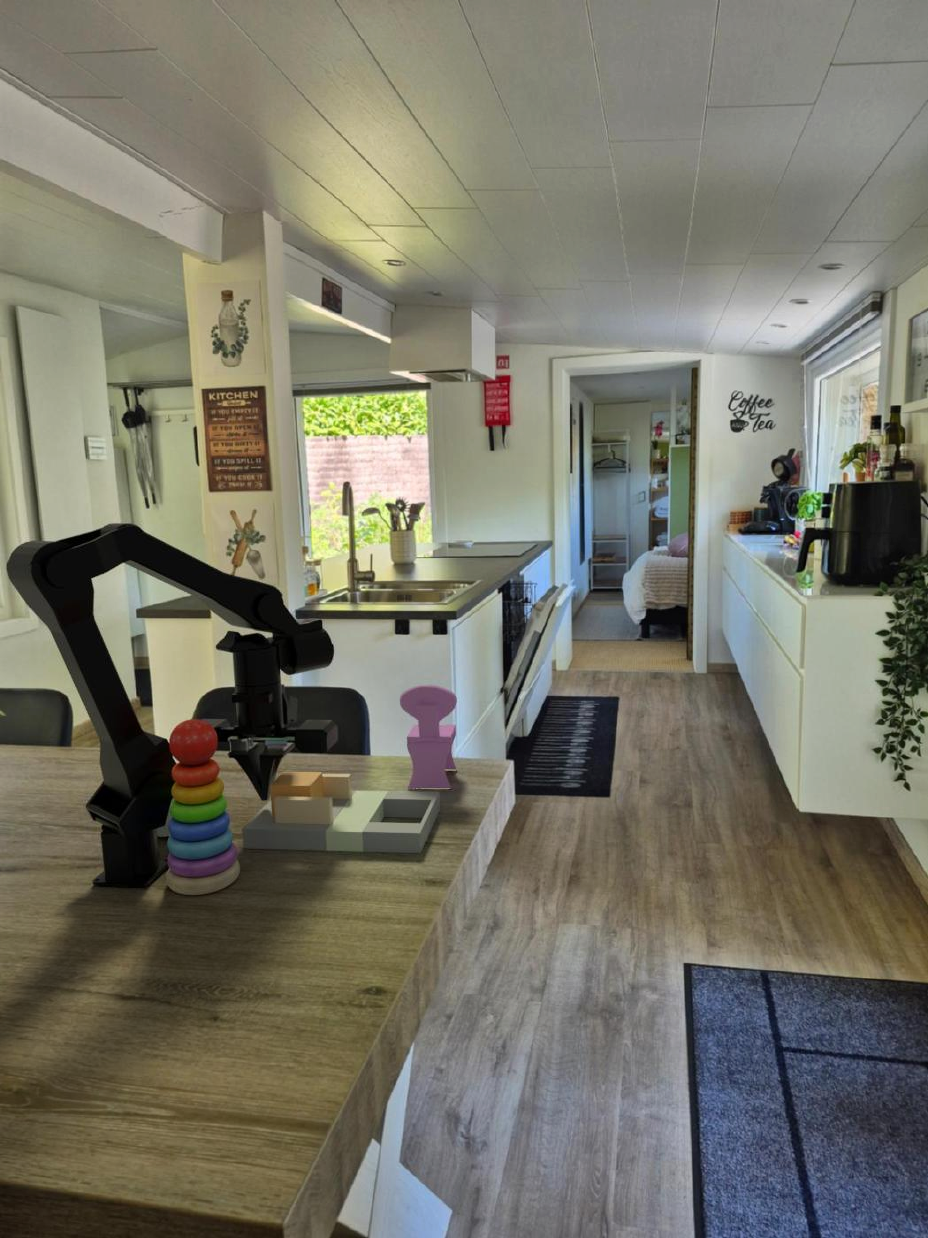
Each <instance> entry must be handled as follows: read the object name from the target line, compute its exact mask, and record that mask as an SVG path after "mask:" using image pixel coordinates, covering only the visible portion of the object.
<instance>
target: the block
mask: <svg viewBox="0 0 928 1238" xmlns="http://www.w3.org/2000/svg"><path fill="white" fill-rule="evenodd" d="M322 774H323V771H283V772H282V773H281V774H279V776H278V777H276V778H275V780H274V782H273V783H272V784H271V785H270V792H271V795H270V800H271V807H272V816H275V807H274V799H275V798H276V797H277V796H289V797H324V795H323V778H322Z"/></svg>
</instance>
